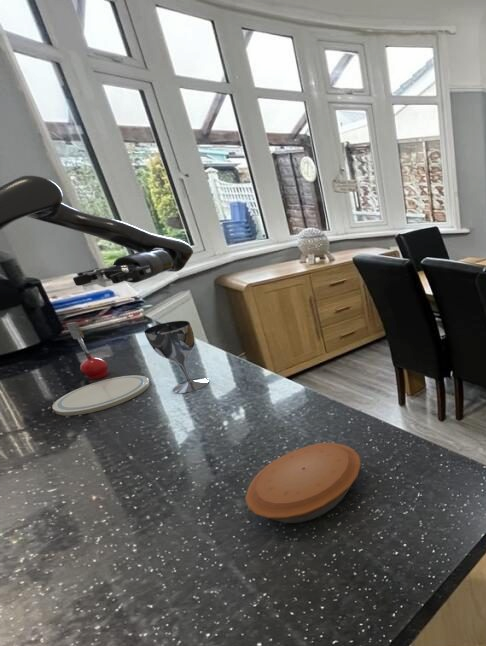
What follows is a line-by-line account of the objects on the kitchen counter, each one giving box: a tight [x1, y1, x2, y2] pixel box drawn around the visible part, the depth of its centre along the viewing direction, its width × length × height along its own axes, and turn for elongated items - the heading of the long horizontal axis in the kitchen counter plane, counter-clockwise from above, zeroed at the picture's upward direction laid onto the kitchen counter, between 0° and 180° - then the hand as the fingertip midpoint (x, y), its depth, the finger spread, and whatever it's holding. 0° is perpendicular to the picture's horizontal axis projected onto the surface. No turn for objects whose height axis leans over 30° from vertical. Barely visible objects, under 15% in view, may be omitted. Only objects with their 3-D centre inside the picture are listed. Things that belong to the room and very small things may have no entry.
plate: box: [51, 374, 151, 417], centre depth 90 cm, size 16×16×1 cm
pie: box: [244, 442, 362, 524], centre depth 59 cm, size 15×16×5 cm
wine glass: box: [143, 320, 210, 394], centre depth 90 cm, size 8×8×15 cm
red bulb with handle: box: [65, 321, 109, 381], centre depth 96 cm, size 5×5×14 cm
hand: (94, 280), depth 100 cm, fingers open, 8 cm apart
